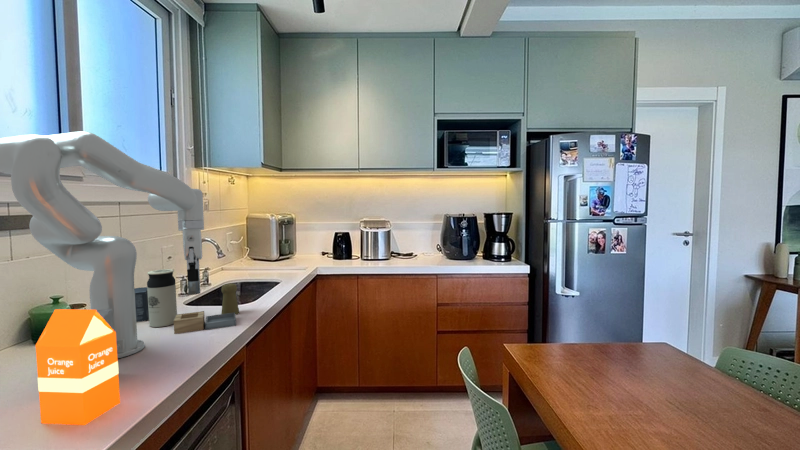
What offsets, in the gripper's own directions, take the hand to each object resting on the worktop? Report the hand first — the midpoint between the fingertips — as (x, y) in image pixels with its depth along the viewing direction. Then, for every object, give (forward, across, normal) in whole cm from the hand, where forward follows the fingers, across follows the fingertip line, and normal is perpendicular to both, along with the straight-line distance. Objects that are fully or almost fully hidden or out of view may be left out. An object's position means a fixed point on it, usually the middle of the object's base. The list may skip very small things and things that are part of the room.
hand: (193, 279), depth 124 cm
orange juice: (+15, -52, +16) cm, 57 cm away
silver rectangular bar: (+5, 0, 0) cm, 5 cm away
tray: (+15, -5, -8) cm, 17 cm away
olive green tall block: (+15, +6, -11) cm, 19 cm away
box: (+15, +16, +18) cm, 28 cm away
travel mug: (+15, +4, +10) cm, 18 cm away
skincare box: (+15, -38, +18) cm, 45 cm away
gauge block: (+15, -5, +1) cm, 16 cm away
